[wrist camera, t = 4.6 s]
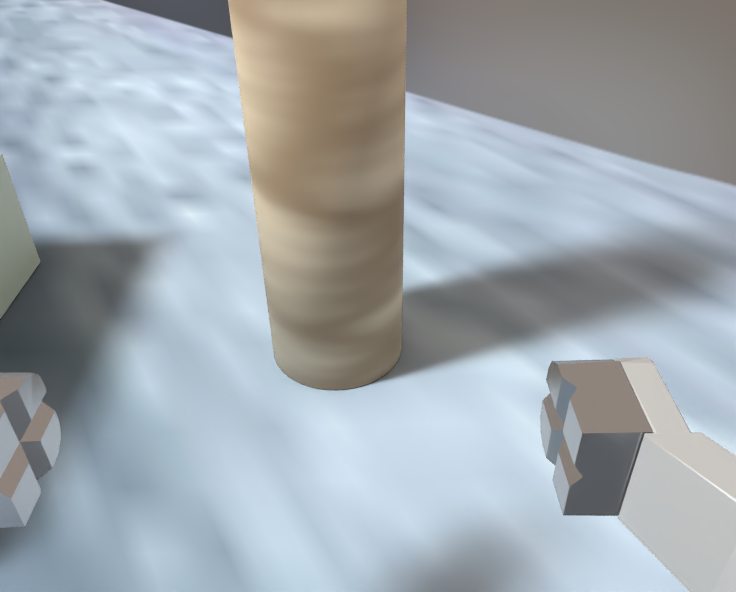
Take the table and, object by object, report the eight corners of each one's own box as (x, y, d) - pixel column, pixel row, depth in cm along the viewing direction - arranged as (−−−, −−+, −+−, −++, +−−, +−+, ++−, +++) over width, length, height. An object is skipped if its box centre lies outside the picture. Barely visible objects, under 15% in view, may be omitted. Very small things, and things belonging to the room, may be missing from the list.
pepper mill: (399, 306, 26) (403, -188, 17) (405, 388, 23) (415, -186, 14) (280, 308, 26) (222, -184, 17) (266, 391, 23) (185, -181, 14)
